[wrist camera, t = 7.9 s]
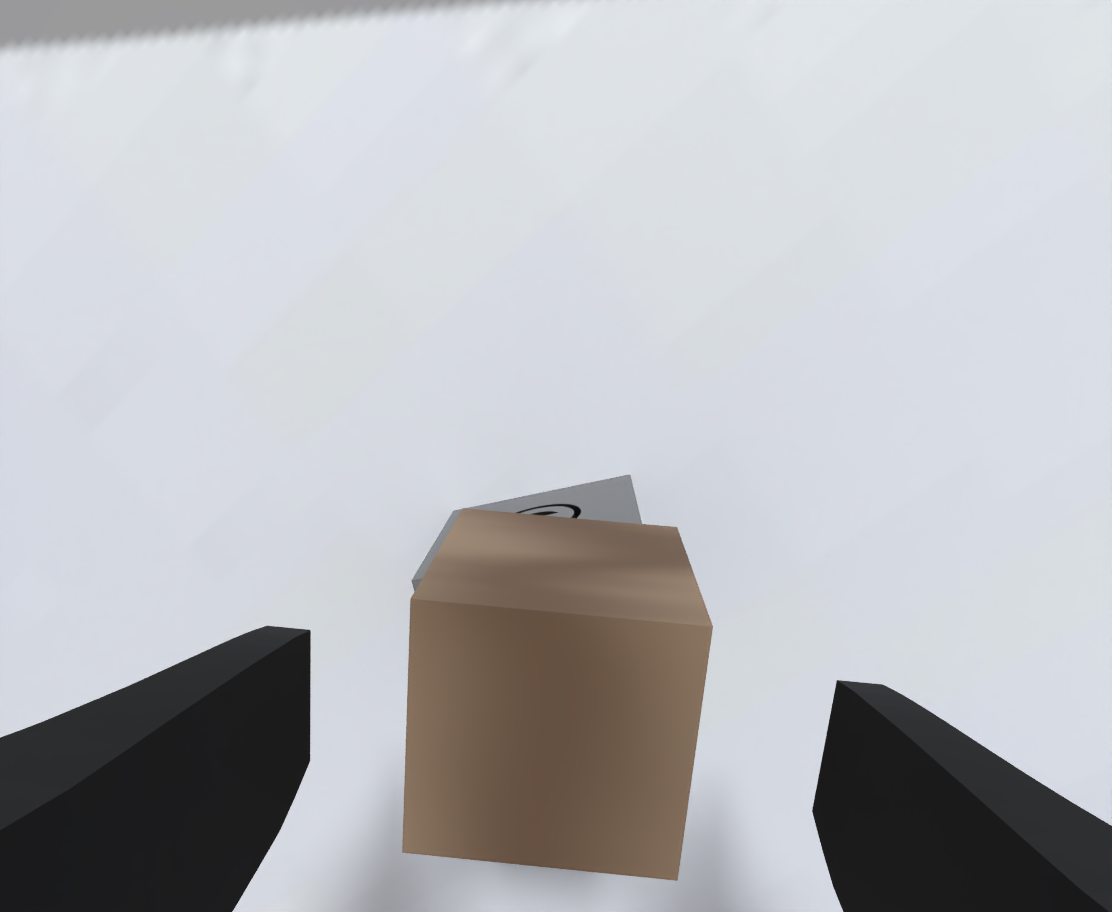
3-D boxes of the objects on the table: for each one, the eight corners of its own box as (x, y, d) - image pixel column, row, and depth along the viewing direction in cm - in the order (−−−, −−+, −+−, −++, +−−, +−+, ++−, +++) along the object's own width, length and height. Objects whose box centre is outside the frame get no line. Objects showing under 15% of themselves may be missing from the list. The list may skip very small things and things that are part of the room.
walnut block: (677, 527, 15) (712, 626, 10) (653, 718, 16) (677, 880, 11) (462, 508, 15) (409, 598, 10) (453, 698, 16) (402, 853, 11)
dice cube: (664, 638, 21) (688, 745, 16) (496, 669, 21) (469, 783, 16) (630, 473, 20) (644, 533, 15) (454, 510, 20) (411, 580, 15)
